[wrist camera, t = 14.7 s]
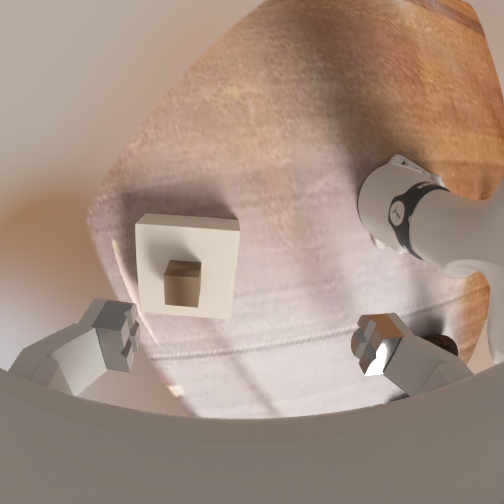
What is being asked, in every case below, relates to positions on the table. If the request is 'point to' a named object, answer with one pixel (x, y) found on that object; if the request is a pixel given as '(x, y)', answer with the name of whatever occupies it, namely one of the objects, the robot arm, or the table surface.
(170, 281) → the walnut cube
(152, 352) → the table surface
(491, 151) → the table surface
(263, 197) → the table surface
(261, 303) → the table surface
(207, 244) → the plate
